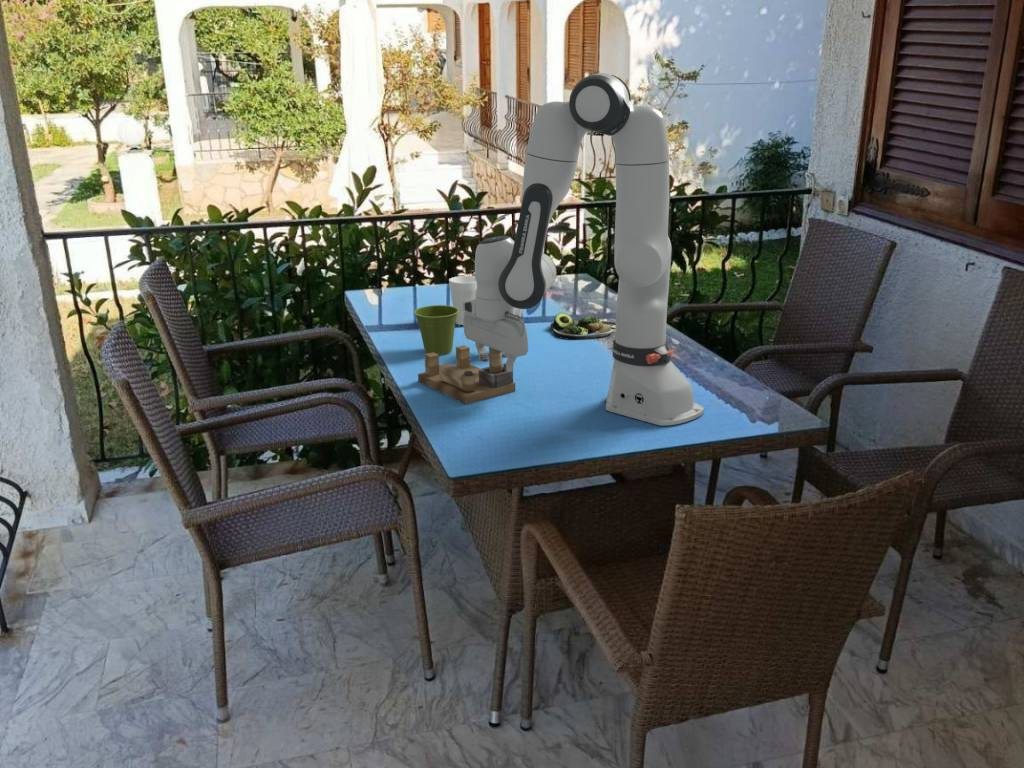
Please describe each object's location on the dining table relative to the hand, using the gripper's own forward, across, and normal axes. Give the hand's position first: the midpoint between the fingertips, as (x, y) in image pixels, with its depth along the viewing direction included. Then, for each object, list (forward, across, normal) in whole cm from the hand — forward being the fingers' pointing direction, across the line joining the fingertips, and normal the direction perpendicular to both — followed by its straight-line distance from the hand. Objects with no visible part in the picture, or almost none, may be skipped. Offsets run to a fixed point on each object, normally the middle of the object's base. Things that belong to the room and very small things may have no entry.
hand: (495, 365), depth 215 cm
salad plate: (+7, +25, -48) cm, 55 cm away
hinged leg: (+4, +4, +8) cm, 10 cm away
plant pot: (+6, +34, -6) cm, 35 cm away
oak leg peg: (+4, 0, 0) cm, 4 cm away
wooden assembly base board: (+6, +7, +4) cm, 10 cm away
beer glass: (+6, +21, -20) cm, 30 cm away
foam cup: (+6, +52, -28) cm, 59 cm away
